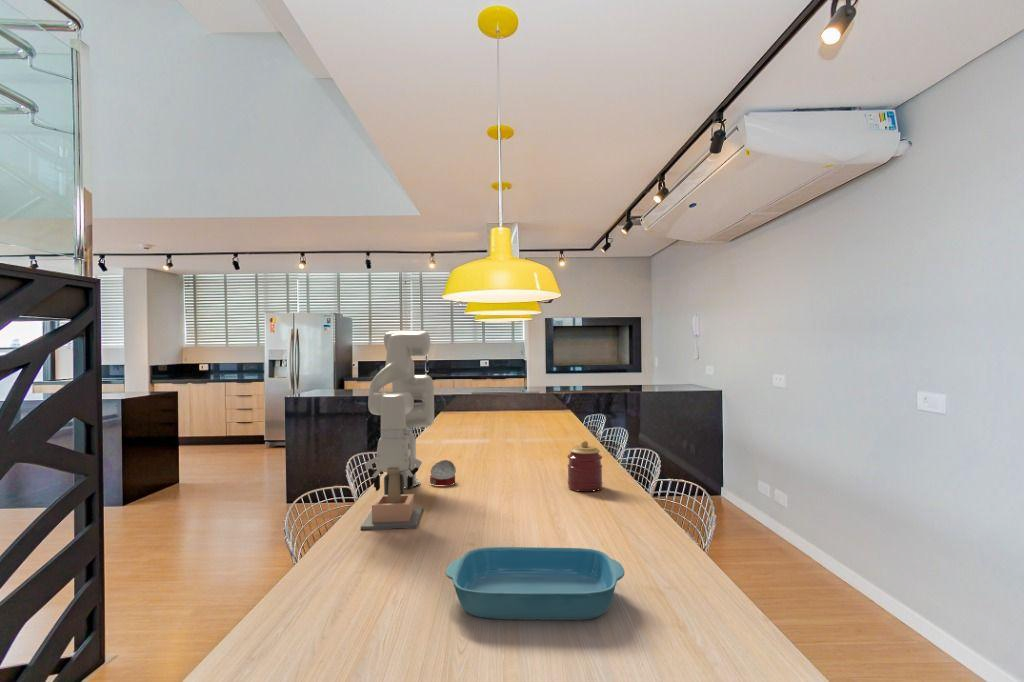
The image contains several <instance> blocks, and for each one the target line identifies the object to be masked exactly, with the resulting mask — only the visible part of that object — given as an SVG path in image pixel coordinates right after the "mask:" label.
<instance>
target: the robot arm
mask: <svg viewBox="0 0 1024 682" xmlns="http://www.w3.org/2000/svg"><path fill="white" fill-rule="evenodd" d="M383 343H384V348H385V351H386V357H385V358H386V359H385V366H384V367H383V368H382V369H380V370H379V371H378V372H377V373H376V374H375V376H374V377H373V378H372V380H371V383H370V385H369V388H368V389H369V391H368V398H367V400H368V401H367V407H368V412H370V414H372V415H376V416H380V438H379V439H378V441H377V447H376V448H377V449H376V457H373V458H372V459H369V460H368V461H366V462H365V463H364V466H365V468H366V469H367V472H368V473H369V474H370V475H371V476H372V478H373V488H375V492H378V491H379V490H380V488H381V477H380V475H379V474H380V473H382V472H385V473H387V468H399V471H402V472H401V474H403V476H404V487H407V488H406V489H407V490H408V491H410V490H411V487H412V488H414V487H413V486H416V485H418V484H419V485H420V484H421V480H420V479H419V478H417V472H418V471H419V469H420V467H421V466H422V463H423V462H422V461H421V460H419V459H418V458H417V440H416V436H415V434H414V433H413V432H412V431H411V429H413V428H414V429H415V428H428V427H431V426H433V424H434V421H435V387H434V385H435V384H434V381H433V378H432V377H431V376H430V375H427V374H415V361H414V359H413V358H412V357H420V356H421V357H422V356H427V355H428V354H429V351H430V348H431V336H430V334H429V333H428V331H427V330H426V331H425V330H393V331H388V332H386V333H385V334H384V336H383ZM388 384H389V385H390V384H392V385H391V386H392V387H391V388H392V389H391V390H392V391H381V389H382V388H383V387H385V386H387V385H388ZM415 400H421V401H422V402H415ZM373 464H376V465H375V467H376V470H375V469H374V468H373V467H372V465H373ZM419 485H418V486H419ZM416 487H417V486H416Z"/></svg>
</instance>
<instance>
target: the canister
mask: <svg viewBox="0 0 1024 682" xmlns="http://www.w3.org/2000/svg"><path fill="white" fill-rule="evenodd" d="M569 452H570V453H569V454H568V455H567V458H568V464H567V466H566V467H567V475H568V476H567V485H568V486H567V488H568V489H569V488H570V490H571V489H573V490H572V491H574V490H579V491H593V490H598V489H601V488H602V489H603V483H604V482H603V464H602V461H601V460H602V458H603V456H602V455H601V454H600V452H601V450H600V449H599V448H598V447H596V446H595V445H589V443H588V441H587V440H582V441H581V443H580V445H574V446H573V447H571V448H570V449H569ZM602 489H601V490H602ZM579 491H578V492H579Z"/></svg>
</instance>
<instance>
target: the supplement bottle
mask: <svg viewBox="0 0 1024 682" xmlns="http://www.w3.org/2000/svg"><path fill="white" fill-rule="evenodd" d="M388 485H389V474H388V473H387V472H386V474H385V475H384V477H383V495H388ZM403 494H405V488H404V476H403V474H401V473H400V495H403Z"/></svg>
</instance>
